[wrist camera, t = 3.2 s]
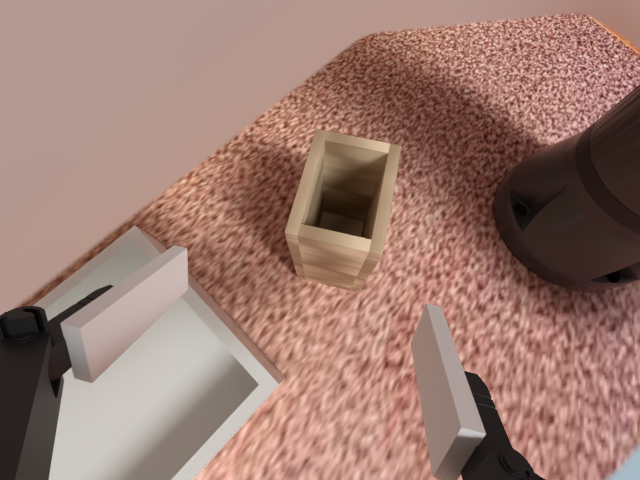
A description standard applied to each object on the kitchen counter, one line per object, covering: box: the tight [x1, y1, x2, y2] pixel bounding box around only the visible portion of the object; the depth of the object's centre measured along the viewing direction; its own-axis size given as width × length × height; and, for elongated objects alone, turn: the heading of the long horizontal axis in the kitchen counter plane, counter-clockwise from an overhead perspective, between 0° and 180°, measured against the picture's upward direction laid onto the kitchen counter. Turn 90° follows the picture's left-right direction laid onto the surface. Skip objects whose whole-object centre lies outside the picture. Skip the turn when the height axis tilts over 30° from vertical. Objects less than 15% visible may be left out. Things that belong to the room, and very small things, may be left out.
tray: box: [33, 225, 286, 480], centre depth 23 cm, size 18×20×5 cm
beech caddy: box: [285, 129, 402, 292], centre depth 25 cm, size 6×8×12 cm
